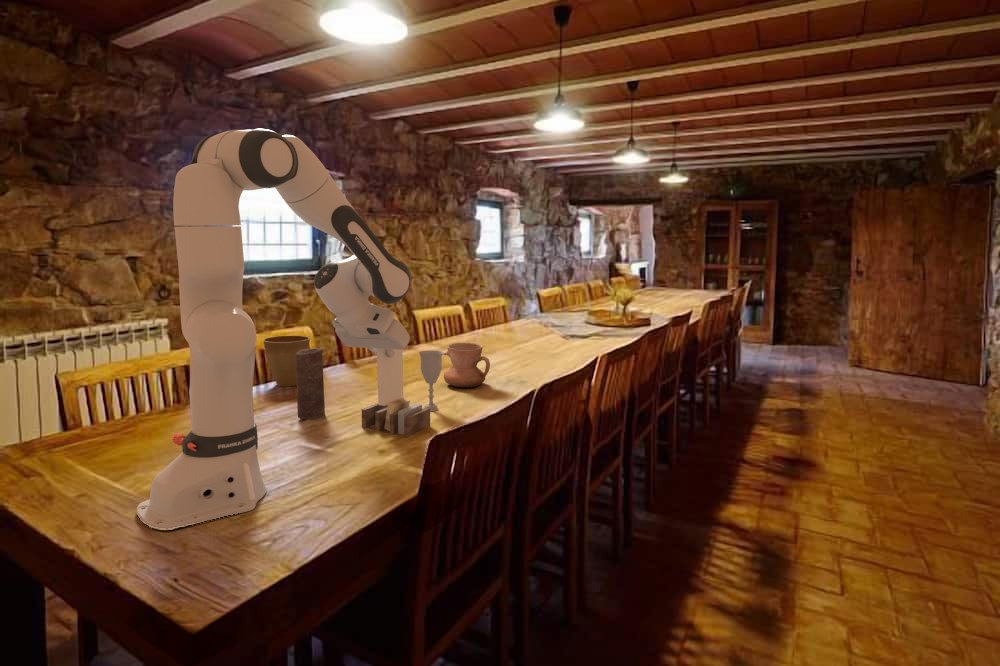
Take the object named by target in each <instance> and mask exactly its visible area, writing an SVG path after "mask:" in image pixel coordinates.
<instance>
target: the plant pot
mask: <svg viewBox="0 0 1000 666" xmlns="http://www.w3.org/2000/svg"><path fill="white" fill-rule="evenodd" d="M310 340H311V338H310V337H309V336H306V335H305V336H304V335H278V336H269V337H265V338H264V339H263V341H262V342H263V345H264V351H265V355H266V358H267V362H268V363H267V364H268V365H269V369H270V371H271V374H272V377H273V379H274V381H275V383H276V385H277V386H278V387H284V388H286V387H294V386H295V385H296V386H297V379H296V353H297V352H299V351H300V350H302V349H310Z"/></svg>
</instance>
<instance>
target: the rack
mask: <svg viewBox="0 0 1000 666" xmlns="http://www.w3.org/2000/svg"><path fill="white" fill-rule="evenodd" d="M387 407H388V405H385V406H382V405H378V403H375V404H372V405H370V406H369V405H368V406H367V407H364V408H361V428H362V429H368V430H371V431H376V432H381V433H384V434H385V433H387V434H391V435H395V436H400V437H405V438H410V437H412V436H414V435H416V434H418V433H420V432H422V431H424V430H427V428H430V427H431V411H430V408H425V407H424V408H425V409H424V408H422V410H420V411H418V412H416V413H413V414H411V415H409V416H407V417H404V435H403V434H398V411H397V412H395V413H393V414H390V431H389V430H387V429H384V426H385V420H386V413H387Z"/></svg>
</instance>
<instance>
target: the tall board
mask: <svg viewBox="0 0 1000 666" xmlns="http://www.w3.org/2000/svg"><path fill="white" fill-rule="evenodd" d="M393 350H394V352H395V354H394V356H393V357H387V355H386V354H385V352H386V351H387V350H385V349H380V348H377V356H376V363H377V367H376V368H377V397H378V398H377V399H378V405H382V406H385V405H388V404H389V403H392V402H394V401H397V400H400V399H402V398H404V377H403V376H404V367H403V350H400V349H393Z"/></svg>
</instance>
